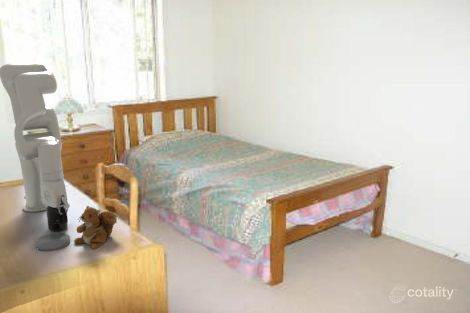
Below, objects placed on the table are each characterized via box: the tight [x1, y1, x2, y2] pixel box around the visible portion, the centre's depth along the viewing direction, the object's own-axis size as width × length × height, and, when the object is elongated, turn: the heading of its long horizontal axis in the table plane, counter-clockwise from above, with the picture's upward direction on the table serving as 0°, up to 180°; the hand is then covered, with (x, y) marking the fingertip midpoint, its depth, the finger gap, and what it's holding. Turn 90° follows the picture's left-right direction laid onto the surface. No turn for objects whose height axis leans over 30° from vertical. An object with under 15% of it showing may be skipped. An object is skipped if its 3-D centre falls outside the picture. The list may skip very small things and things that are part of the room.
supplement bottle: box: [45, 204, 69, 233], centre depth 159 cm, size 7×7×12 cm
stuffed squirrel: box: [73, 205, 119, 250], centre depth 149 cm, size 10×14×13 cm
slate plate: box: [35, 232, 71, 252], centre depth 148 cm, size 11×11×2 cm
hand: (57, 220), depth 159 cm, fingers closed on supplement bottle, 6 cm apart
